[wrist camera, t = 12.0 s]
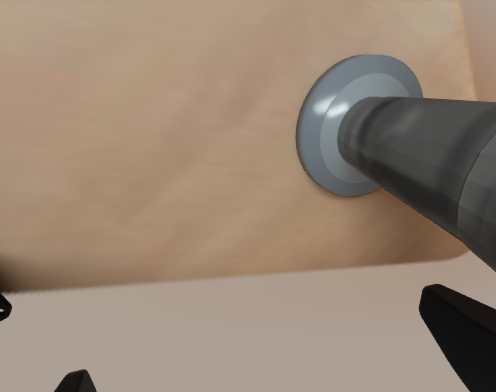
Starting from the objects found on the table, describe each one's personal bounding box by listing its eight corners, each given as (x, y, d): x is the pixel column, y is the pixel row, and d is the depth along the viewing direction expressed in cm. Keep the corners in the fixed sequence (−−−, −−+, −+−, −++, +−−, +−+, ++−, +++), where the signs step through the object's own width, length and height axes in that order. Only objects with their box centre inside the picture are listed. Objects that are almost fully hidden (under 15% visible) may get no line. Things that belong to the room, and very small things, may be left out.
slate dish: (313, 210, 24) (323, 218, 23) (279, 88, 20) (289, 90, 19) (415, 157, 26) (428, 162, 25) (403, 32, 22) (419, 31, 21)
